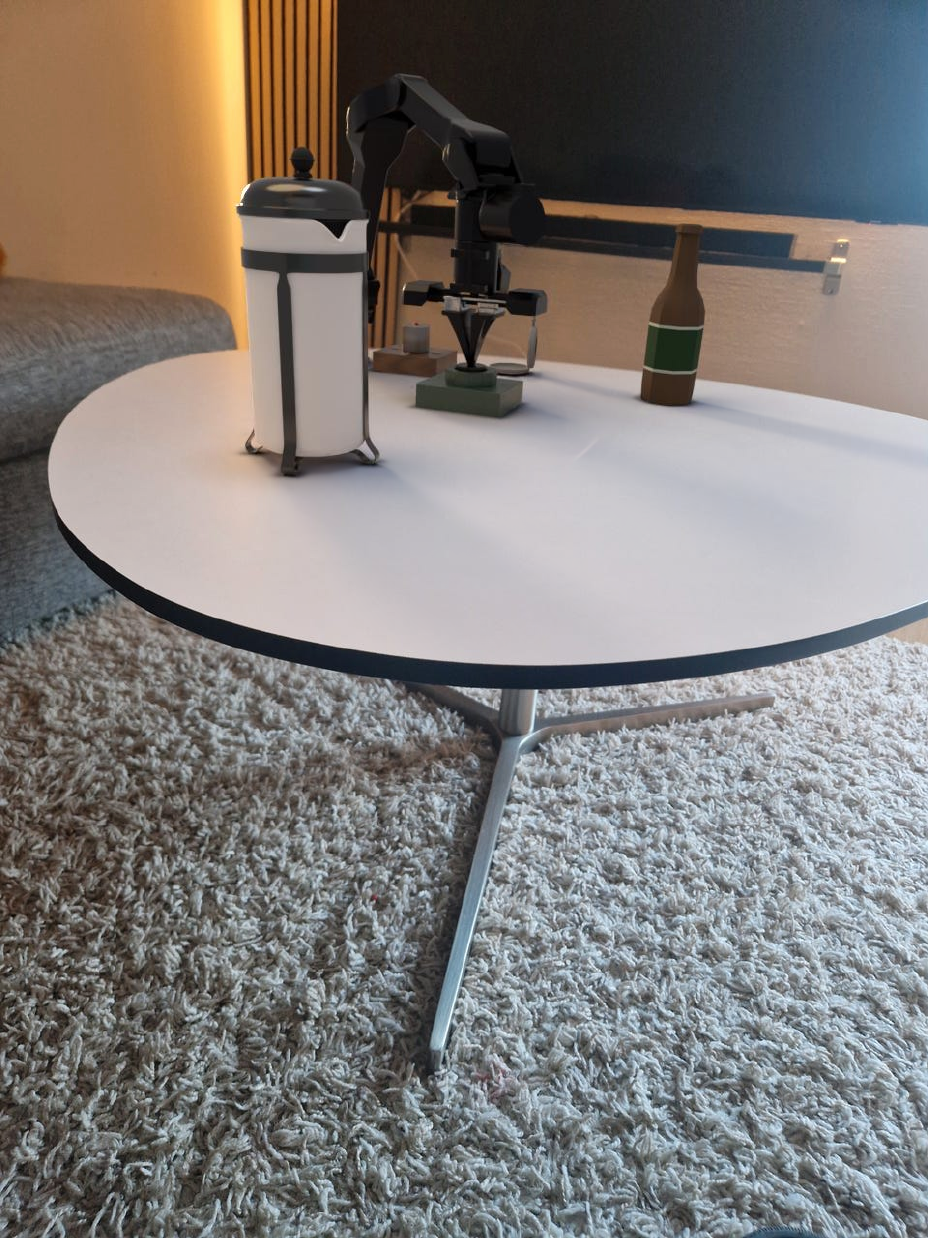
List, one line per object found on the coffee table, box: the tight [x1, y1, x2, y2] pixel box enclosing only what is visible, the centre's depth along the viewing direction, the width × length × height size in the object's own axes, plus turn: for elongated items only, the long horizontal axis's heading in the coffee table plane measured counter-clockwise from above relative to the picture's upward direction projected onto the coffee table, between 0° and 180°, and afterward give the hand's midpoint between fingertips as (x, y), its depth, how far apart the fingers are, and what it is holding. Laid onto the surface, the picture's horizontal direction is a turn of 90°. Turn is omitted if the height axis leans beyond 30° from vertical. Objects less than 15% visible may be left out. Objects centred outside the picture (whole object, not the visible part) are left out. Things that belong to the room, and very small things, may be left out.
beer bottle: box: [639, 222, 706, 406], centre depth 128 cm, size 8×8×24 cm
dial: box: [401, 320, 431, 353], centre depth 144 cm, size 4×4×4 cm
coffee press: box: [235, 146, 381, 476], centre depth 92 cm, size 17×16×30 cm
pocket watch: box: [488, 316, 538, 376], centre depth 145 cm, size 8×8×10 cm
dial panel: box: [372, 343, 458, 378], centre depth 146 cm, size 11×9×3 cm
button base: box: [415, 365, 524, 419], centre depth 123 cm, size 12×10×5 cm
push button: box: [456, 361, 487, 372], centre depth 122 cm, size 4×4×2 cm
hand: (471, 364), depth 122 cm, fingers closed, pressing on push button
